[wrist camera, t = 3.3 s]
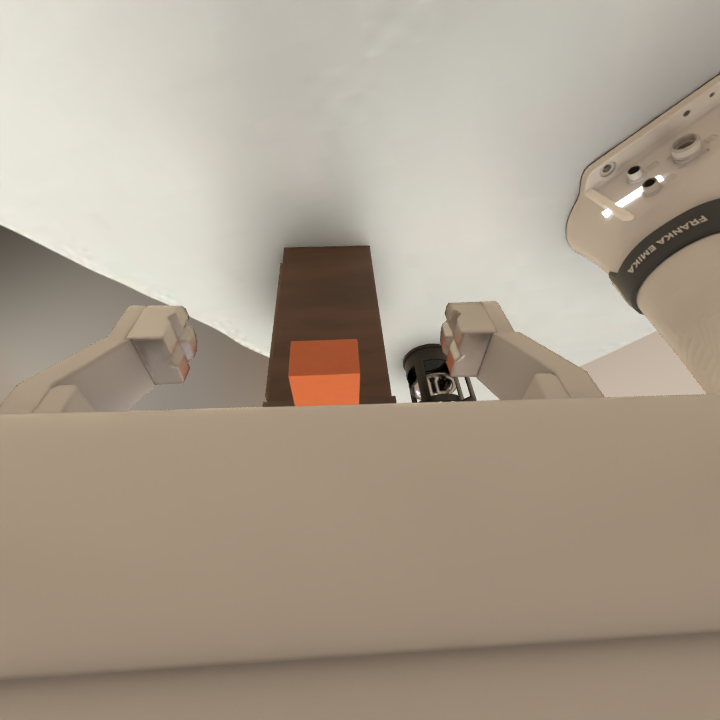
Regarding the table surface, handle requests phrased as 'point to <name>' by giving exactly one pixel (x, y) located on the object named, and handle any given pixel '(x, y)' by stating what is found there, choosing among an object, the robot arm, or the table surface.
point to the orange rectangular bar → (324, 372)
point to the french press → (432, 377)
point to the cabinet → (328, 316)
